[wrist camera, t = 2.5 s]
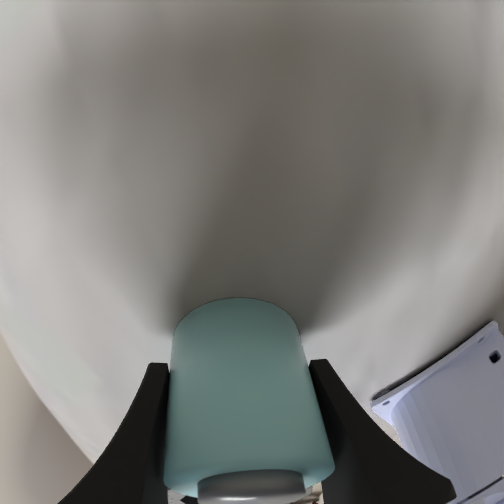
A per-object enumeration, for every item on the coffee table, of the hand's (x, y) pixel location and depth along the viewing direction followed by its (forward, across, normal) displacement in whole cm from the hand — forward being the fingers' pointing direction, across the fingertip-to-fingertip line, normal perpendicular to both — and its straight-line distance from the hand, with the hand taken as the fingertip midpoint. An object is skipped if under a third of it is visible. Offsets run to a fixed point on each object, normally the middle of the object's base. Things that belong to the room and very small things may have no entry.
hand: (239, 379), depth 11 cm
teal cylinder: (+2, 0, 0) cm, 2 cm away
